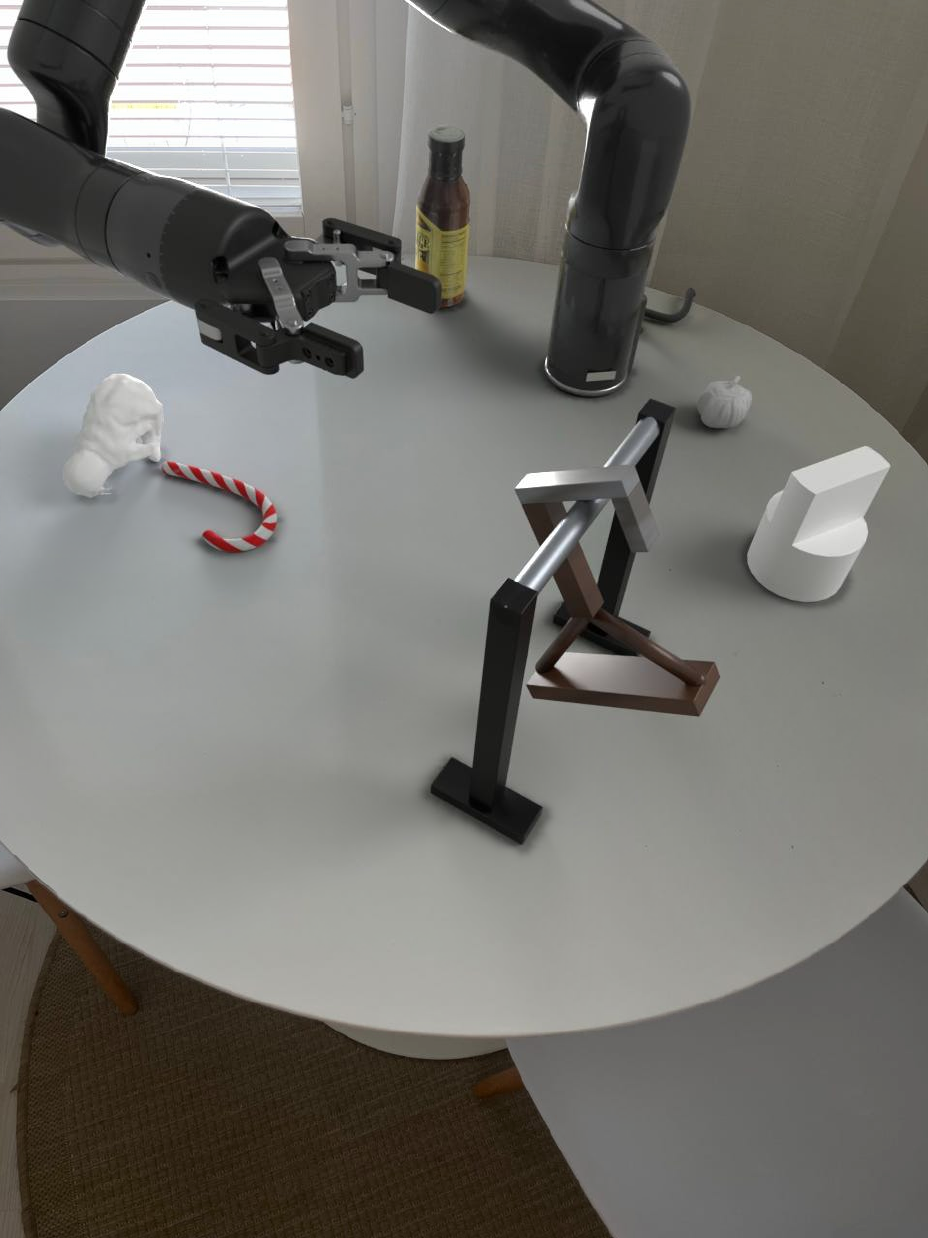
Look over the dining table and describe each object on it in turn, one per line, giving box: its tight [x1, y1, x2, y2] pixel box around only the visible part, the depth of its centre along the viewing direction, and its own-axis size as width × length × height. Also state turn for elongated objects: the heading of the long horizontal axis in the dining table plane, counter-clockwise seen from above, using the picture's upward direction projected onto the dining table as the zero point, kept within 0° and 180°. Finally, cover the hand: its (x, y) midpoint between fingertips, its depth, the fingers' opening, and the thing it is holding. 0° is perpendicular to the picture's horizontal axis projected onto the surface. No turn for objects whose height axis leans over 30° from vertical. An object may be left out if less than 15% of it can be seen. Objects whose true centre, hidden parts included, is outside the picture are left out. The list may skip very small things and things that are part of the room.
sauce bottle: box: [414, 124, 471, 309], centre depth 105 cm, size 6×6×20 cm
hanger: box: [514, 464, 721, 718], centre depth 62 cm, size 14×4×18 cm
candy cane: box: [161, 460, 278, 553], centre depth 87 cm, size 8×1×15 cm
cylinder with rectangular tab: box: [746, 445, 891, 603], centre depth 81 cm, size 9×9×12 cm
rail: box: [430, 398, 677, 846], centre depth 65 cm, size 23×8×24 cm, turn 149°
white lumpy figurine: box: [62, 373, 165, 499], centre depth 87 cm, size 6×8×12 cm
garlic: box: [696, 375, 753, 429], centre depth 98 cm, size 6×5×5 cm
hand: (401, 328), depth 55 cm, fingers open, 8 cm apart
